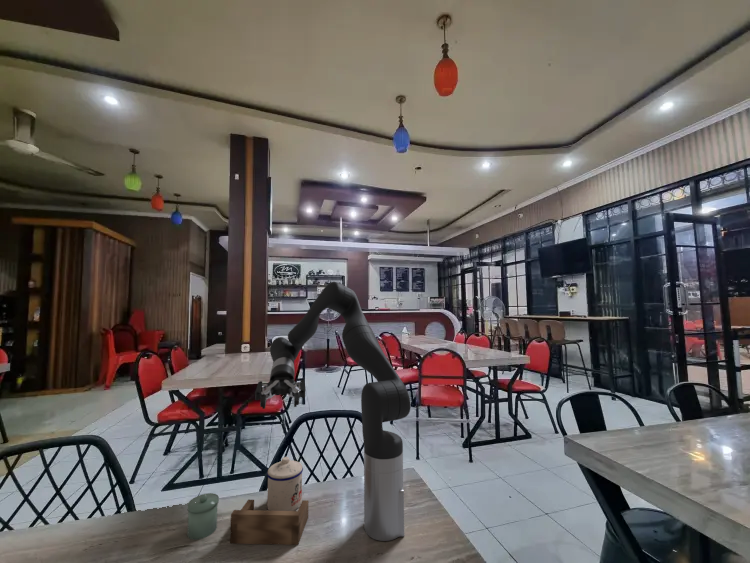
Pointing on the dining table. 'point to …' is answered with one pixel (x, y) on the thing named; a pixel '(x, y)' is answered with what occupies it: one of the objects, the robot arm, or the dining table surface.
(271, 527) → the walnut cup holder
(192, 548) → the dining table surface
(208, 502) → the green ceramic sugar pot
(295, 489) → the teacup with lid
